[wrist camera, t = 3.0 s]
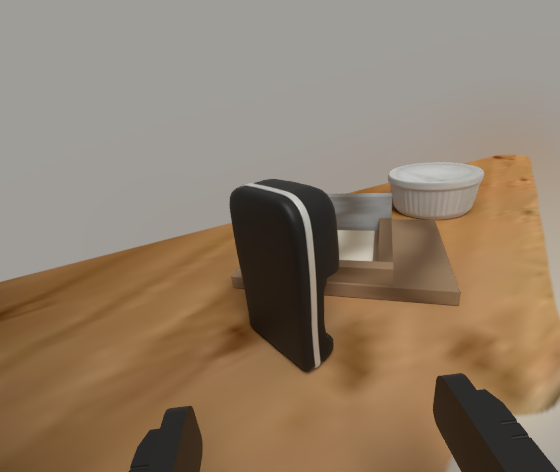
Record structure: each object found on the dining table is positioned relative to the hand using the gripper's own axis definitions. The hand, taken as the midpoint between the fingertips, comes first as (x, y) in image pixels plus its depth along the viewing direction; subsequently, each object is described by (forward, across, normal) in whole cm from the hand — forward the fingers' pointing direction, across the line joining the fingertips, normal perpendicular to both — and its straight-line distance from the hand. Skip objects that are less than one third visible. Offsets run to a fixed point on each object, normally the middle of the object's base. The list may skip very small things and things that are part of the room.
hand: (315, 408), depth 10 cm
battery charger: (+11, 0, +7) cm, 13 cm away
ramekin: (+33, -21, +7) cm, 40 cm away
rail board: (+23, -6, +6) cm, 24 cm away
